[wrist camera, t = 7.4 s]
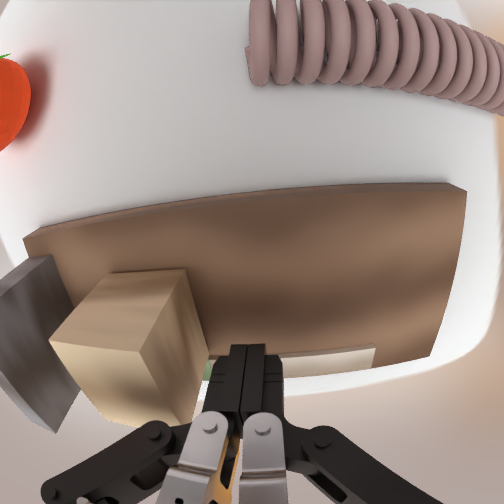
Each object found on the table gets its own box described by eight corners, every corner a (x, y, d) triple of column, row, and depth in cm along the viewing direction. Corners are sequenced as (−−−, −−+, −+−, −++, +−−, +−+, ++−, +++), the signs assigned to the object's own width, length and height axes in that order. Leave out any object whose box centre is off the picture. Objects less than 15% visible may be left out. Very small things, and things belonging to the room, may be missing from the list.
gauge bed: (39, 228, 16) (-55, 295, 7) (448, 183, 13) (575, 255, 4) (92, 350, 21) (42, 432, 12) (420, 338, 18) (467, 443, 9)
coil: (240, 84, 8) (552, 135, 7) (228, -21, 6) (549, 64, 4) (249, 90, 12) (507, 120, 11) (241, 13, 10) (504, 60, 8)
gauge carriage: (73, 275, 15) (15, 333, 9) (185, 268, 14) (139, 352, 8) (119, 369, 18) (89, 429, 13) (217, 377, 17) (200, 453, 12)
